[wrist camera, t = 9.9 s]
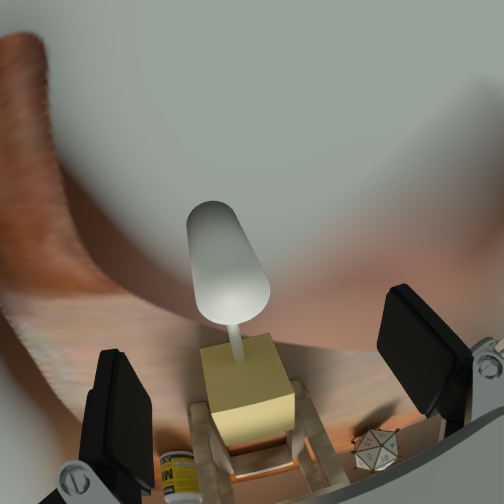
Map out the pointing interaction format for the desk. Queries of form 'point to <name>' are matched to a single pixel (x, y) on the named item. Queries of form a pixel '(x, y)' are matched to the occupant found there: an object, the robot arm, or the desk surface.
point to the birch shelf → (264, 454)
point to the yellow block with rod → (236, 330)
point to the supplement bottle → (180, 478)
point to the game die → (376, 450)
